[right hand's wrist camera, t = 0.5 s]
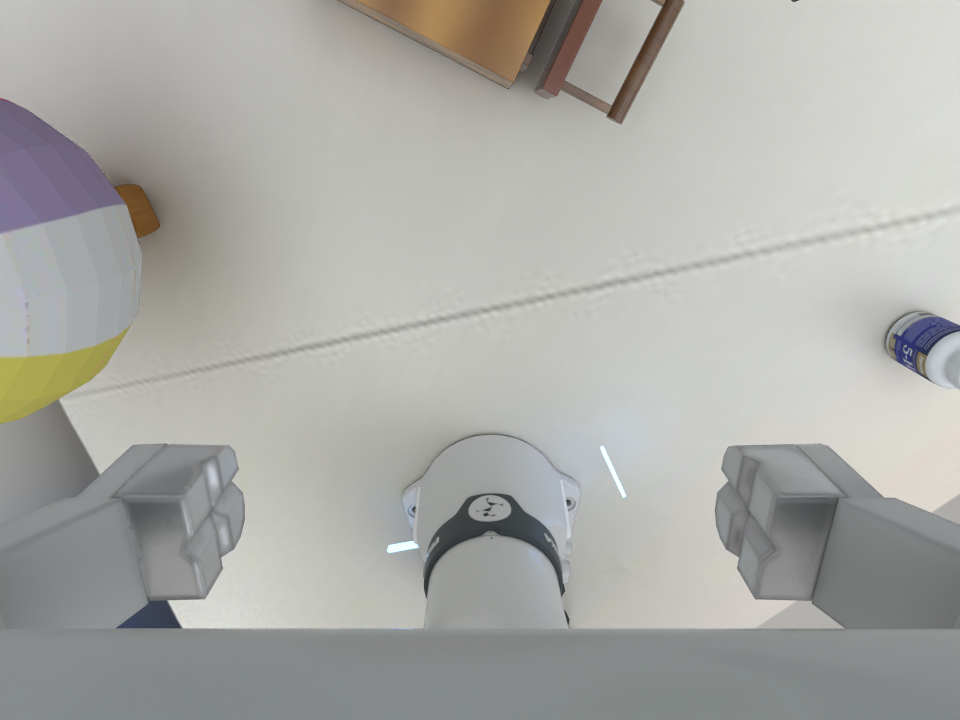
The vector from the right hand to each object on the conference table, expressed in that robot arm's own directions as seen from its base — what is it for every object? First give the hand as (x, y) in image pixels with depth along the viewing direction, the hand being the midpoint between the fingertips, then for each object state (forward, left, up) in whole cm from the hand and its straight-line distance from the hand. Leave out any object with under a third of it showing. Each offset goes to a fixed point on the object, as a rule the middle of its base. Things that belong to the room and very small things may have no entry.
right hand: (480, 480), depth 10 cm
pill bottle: (-16, -41, -46) cm, 63 cm away
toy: (0, +30, -46) cm, 55 cm away
